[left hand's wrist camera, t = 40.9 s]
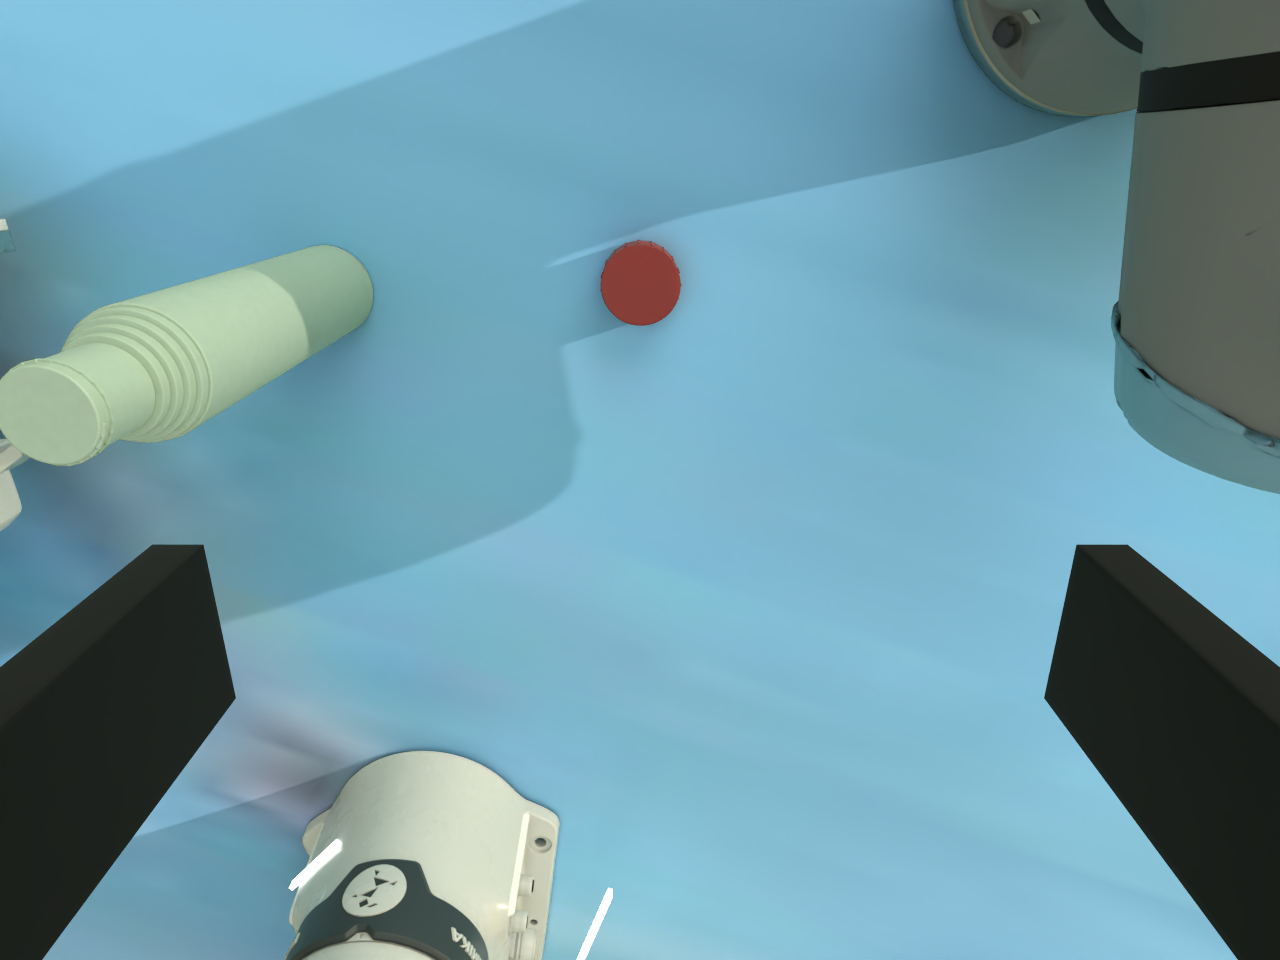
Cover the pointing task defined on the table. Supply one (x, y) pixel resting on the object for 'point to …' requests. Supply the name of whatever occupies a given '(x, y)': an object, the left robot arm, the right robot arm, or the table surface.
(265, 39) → the table surface
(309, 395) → the table surface
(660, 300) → the cap
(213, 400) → the bottle
